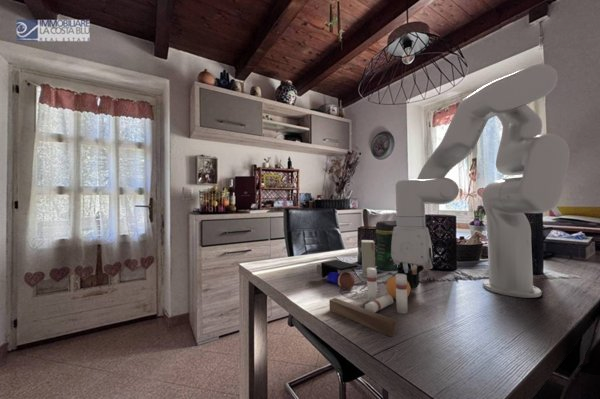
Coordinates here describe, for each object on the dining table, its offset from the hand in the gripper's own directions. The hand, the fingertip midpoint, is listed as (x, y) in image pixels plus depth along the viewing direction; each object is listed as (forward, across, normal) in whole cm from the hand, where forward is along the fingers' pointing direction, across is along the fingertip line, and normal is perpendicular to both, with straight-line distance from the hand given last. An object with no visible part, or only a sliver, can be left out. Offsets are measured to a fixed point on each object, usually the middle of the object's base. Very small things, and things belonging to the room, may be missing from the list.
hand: (412, 286), depth 70 cm
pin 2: (+2, +4, -14) cm, 15 cm away
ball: (-2, 0, -8) cm, 8 cm away
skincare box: (+2, -18, +5) cm, 19 cm away
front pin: (0, 0, -12) cm, 12 cm away
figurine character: (+2, -20, -10) cm, 22 cm away
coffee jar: (+2, -18, +19) cm, 26 cm away
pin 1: (+2, -4, -14) cm, 15 cm away
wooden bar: (+2, 0, -25) cm, 25 cm away
